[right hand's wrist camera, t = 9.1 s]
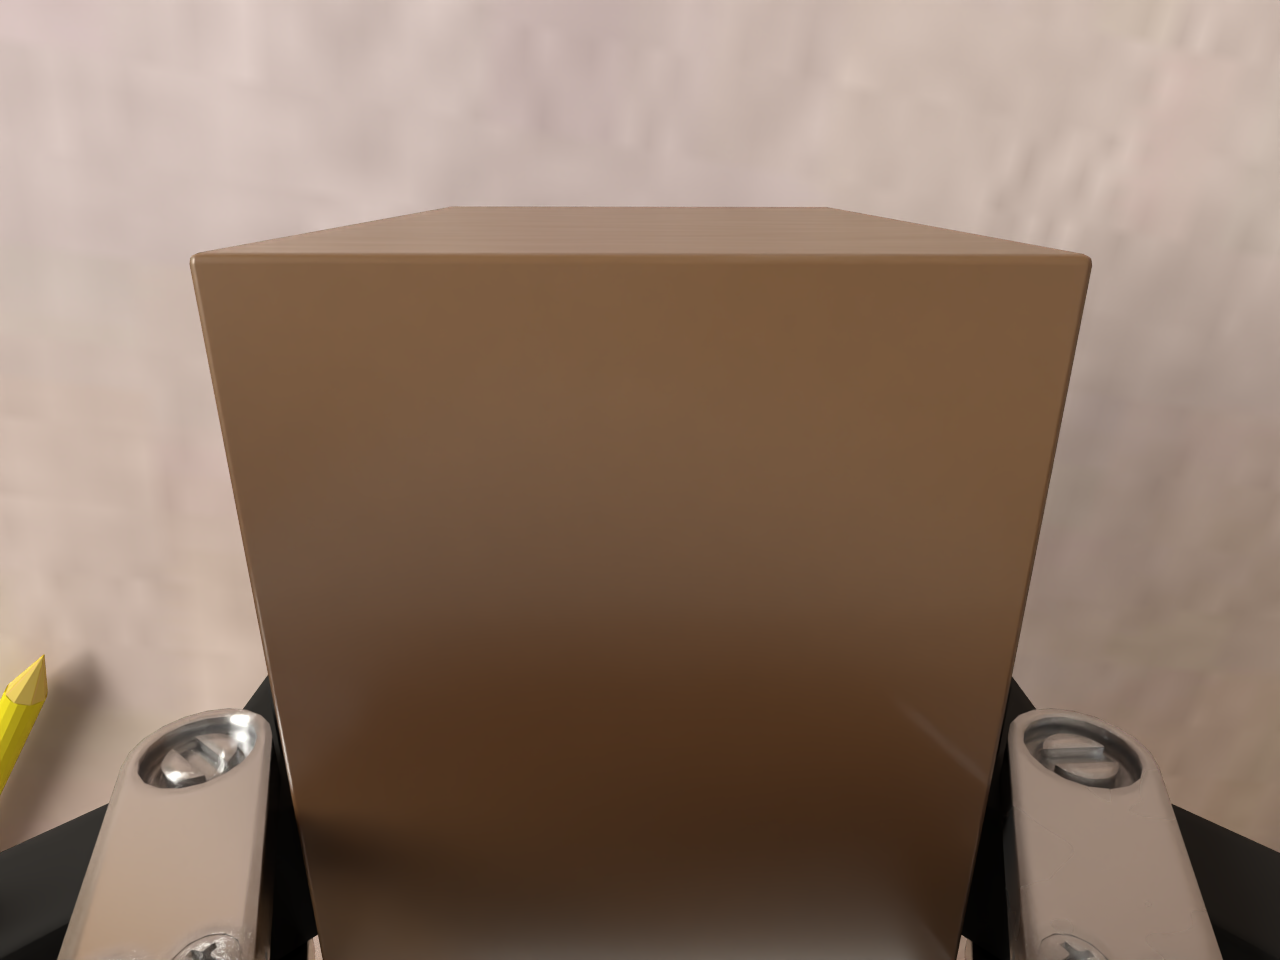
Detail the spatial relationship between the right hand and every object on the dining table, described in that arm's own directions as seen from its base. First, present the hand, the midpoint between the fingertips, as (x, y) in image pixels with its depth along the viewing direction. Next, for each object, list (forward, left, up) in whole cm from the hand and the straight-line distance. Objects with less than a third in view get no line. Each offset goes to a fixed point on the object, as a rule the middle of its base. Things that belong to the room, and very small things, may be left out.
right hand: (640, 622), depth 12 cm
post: (+27, -6, -2) cm, 27 cm away
